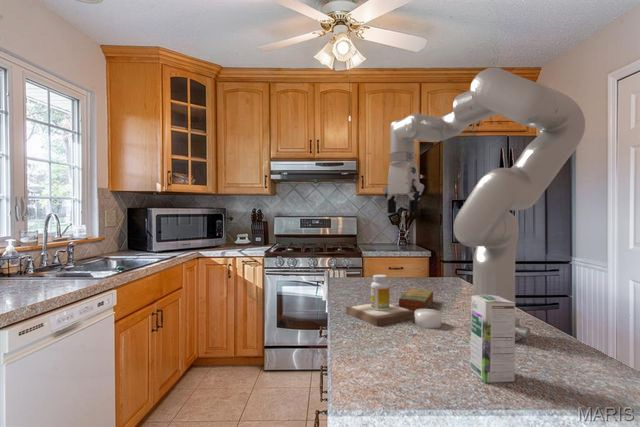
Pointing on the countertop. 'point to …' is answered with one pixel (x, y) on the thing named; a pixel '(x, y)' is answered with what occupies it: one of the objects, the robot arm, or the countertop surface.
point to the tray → (380, 314)
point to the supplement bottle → (380, 293)
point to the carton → (416, 299)
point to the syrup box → (493, 338)
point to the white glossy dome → (428, 318)
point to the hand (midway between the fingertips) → (402, 213)
